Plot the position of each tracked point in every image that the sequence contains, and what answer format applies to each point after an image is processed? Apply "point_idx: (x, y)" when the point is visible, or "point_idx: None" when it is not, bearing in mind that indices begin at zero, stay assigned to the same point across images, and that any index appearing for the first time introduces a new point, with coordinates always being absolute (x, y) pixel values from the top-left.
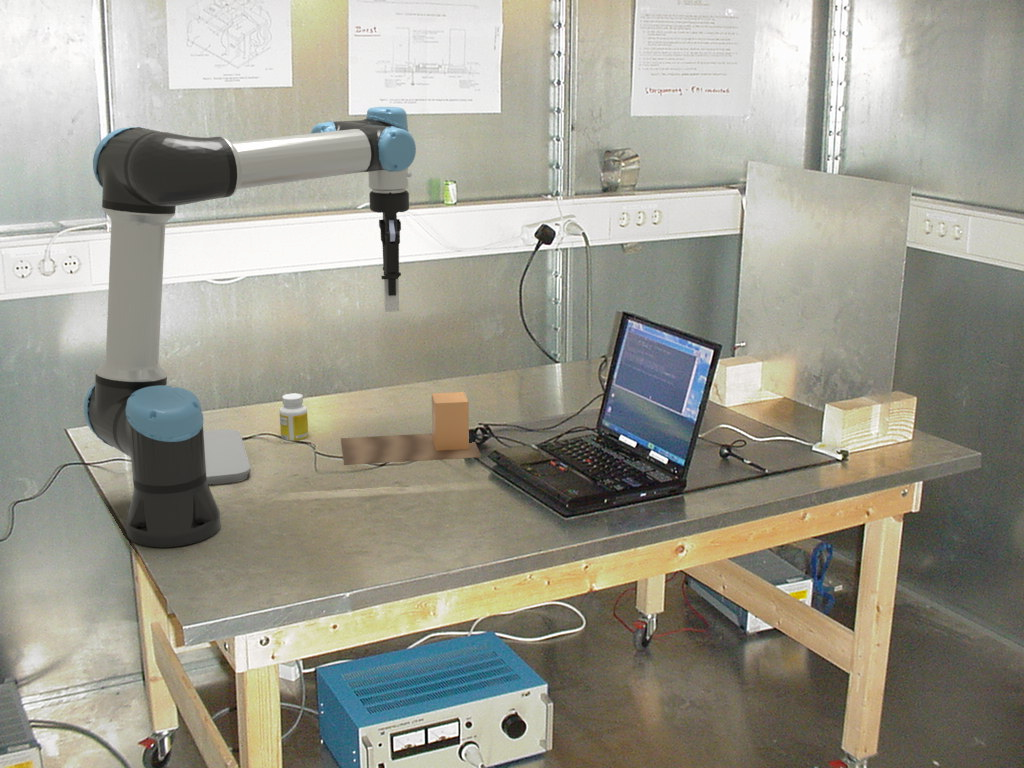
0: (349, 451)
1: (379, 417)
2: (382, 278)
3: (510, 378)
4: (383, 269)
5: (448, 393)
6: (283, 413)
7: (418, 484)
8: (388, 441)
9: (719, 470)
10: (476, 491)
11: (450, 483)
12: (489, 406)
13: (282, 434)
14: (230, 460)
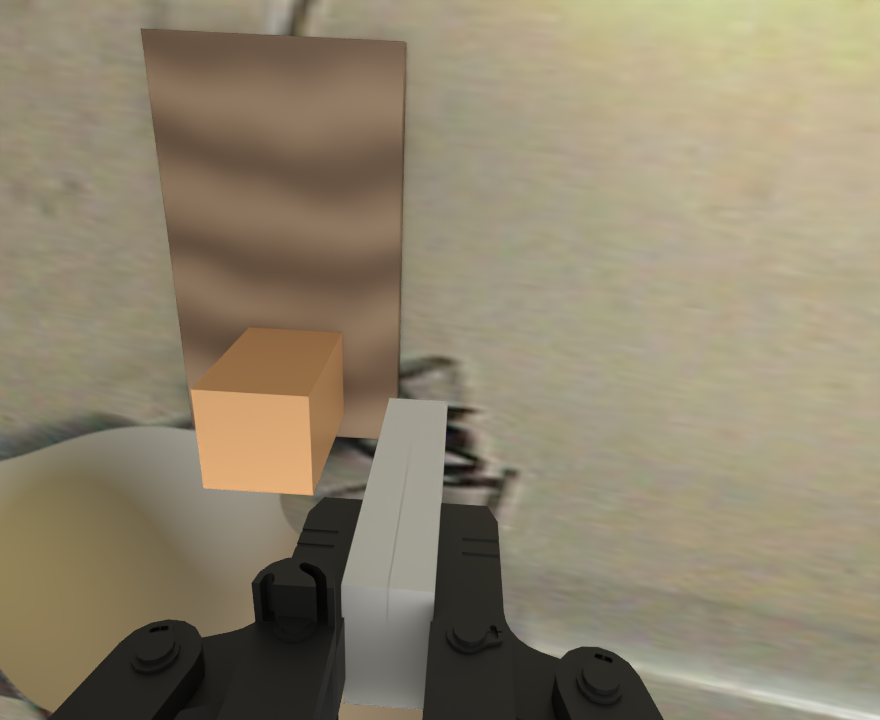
0: (266, 61)
1: (659, 210)
2: (266, 574)
3: (872, 615)
4: (579, 668)
5: (301, 448)
6: None
7: (60, 243)
8: (345, 204)
9: None
10: (20, 371)
11: (70, 323)
12: (649, 521)
13: None
14: None
